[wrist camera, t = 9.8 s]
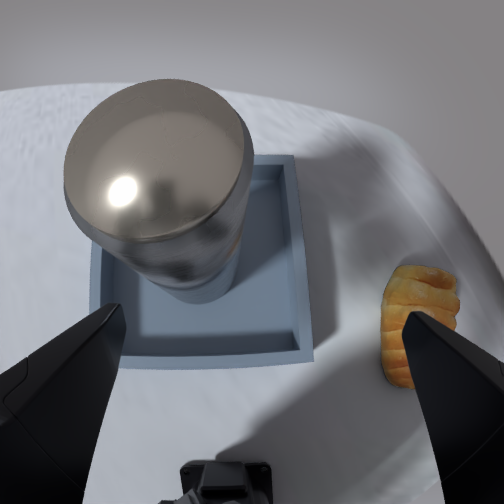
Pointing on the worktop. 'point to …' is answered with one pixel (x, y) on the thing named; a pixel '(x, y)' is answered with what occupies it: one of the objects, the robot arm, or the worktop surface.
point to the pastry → (405, 301)
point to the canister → (164, 185)
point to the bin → (233, 301)
